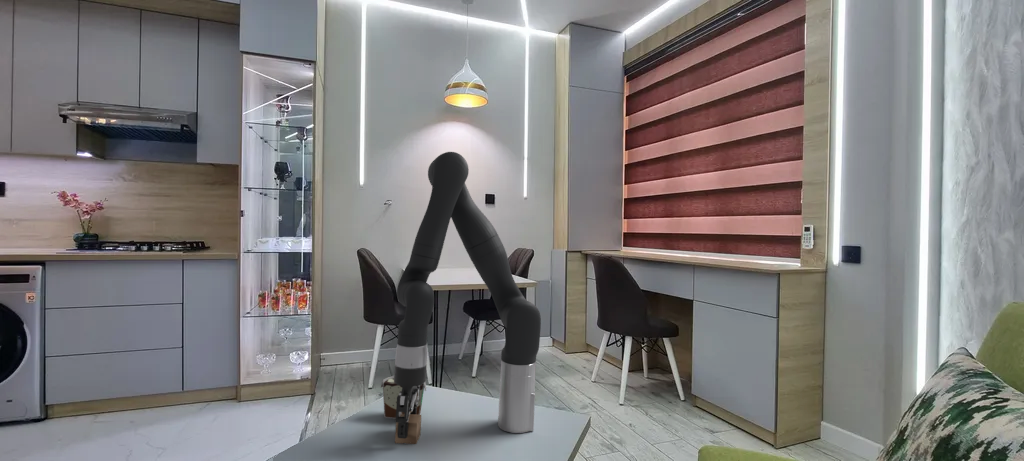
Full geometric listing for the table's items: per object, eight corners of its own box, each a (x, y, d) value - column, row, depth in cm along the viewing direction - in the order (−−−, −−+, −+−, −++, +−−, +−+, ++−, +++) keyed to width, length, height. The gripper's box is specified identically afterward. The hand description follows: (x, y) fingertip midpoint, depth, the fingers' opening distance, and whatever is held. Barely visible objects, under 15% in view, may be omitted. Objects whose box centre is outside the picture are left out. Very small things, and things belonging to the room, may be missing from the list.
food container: (430, 412, 125) (432, 376, 125) (424, 421, 119) (425, 383, 119) (387, 408, 126) (389, 372, 126) (379, 417, 120) (380, 379, 120)
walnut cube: (420, 435, 111) (421, 414, 111) (416, 444, 106) (417, 423, 106) (400, 434, 111) (401, 413, 111) (394, 443, 106) (396, 422, 106)
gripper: (420, 372, 102) (415, 444, 101) (432, 355, 116) (428, 418, 116) (387, 370, 102) (382, 442, 101) (403, 353, 116) (399, 417, 116)
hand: (406, 429), depth 109 cm, fingers open, 8 cm apart
